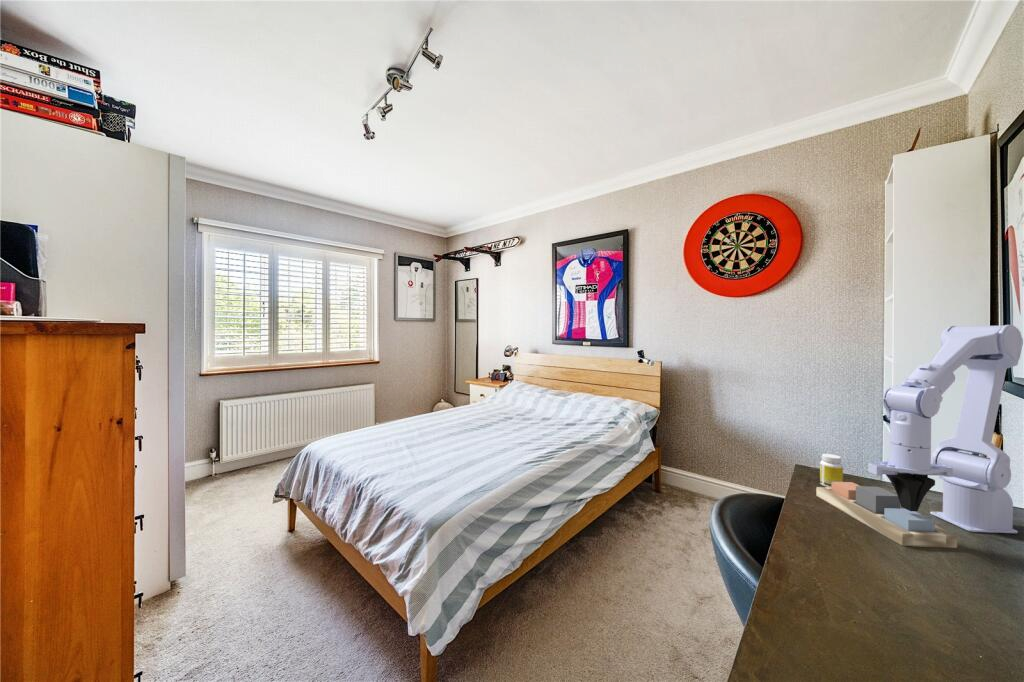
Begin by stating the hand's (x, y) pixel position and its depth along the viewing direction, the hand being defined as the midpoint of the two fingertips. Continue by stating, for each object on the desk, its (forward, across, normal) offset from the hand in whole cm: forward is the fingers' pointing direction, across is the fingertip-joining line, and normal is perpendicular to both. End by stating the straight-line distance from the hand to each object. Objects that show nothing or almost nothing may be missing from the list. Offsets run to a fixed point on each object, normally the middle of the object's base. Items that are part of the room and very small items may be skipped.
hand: (909, 509), depth 75 cm
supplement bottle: (+6, -4, -25) cm, 26 cm away
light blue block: (+5, 0, 0) cm, 5 cm away
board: (+6, 0, -7) cm, 9 cm away
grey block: (+3, 0, -7) cm, 8 cm away
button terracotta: (+5, 0, -14) cm, 15 cm away
